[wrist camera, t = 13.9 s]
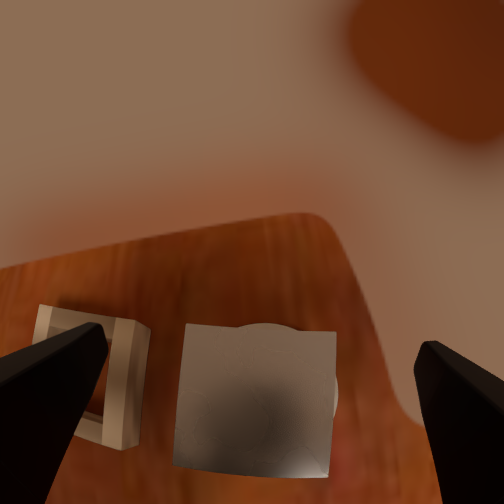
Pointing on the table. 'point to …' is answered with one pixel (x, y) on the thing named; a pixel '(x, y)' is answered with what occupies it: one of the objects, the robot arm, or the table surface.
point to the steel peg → (256, 402)
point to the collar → (119, 374)
